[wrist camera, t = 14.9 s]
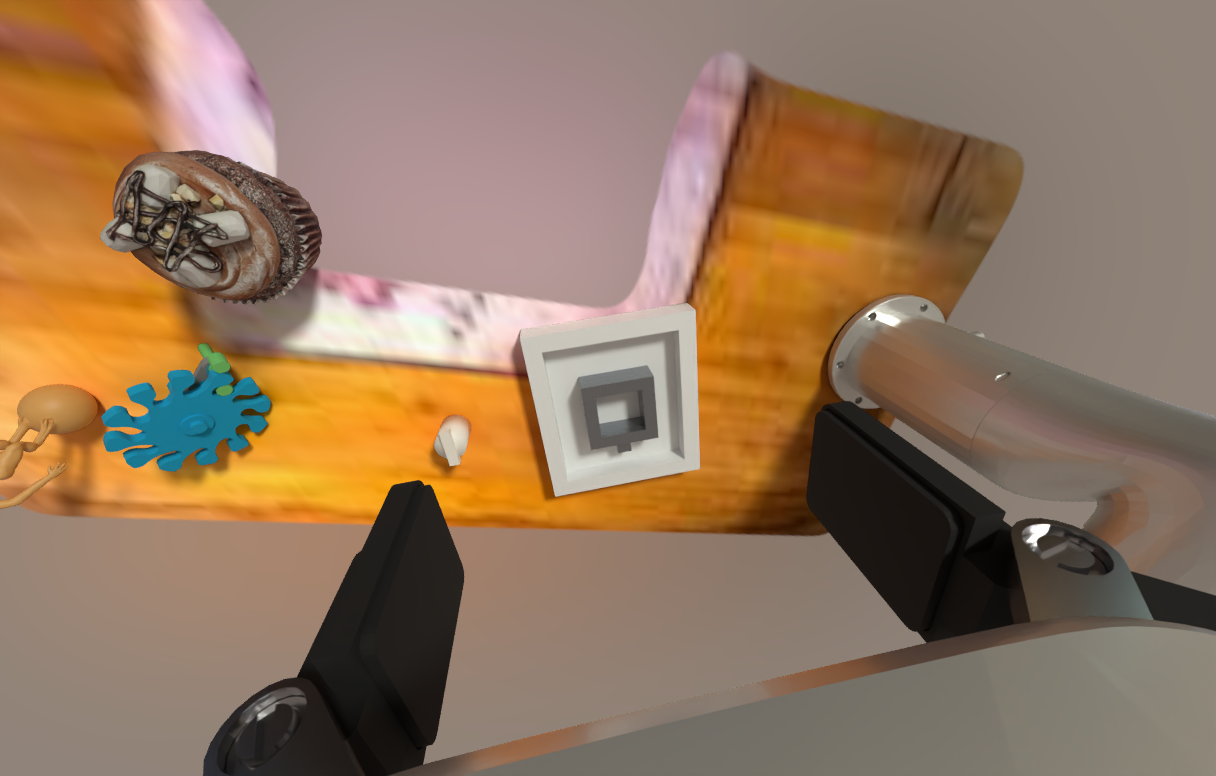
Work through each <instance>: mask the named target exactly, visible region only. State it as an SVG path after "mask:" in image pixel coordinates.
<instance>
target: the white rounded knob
mask: <svg viewBox="0 0 1216 776" xmlns="http://www.w3.org/2000/svg"><path fill="white" fill-rule="evenodd" d="M470 431H471V424H470V422H469V421H468V420H467V419H466V418H465V417H463V416H461V415H450V416H448V417H446V418H445V419H444V420H443V422H442V424H441V427H440V430H439V432H438V435H437V437H436V440H435V443H434V448H435V450H436V452H437V453H438V454H439V455H440V456H442V457H444V458H447V459H448V462H449V465H450V466H454V465H459V464H460V462H461V459H460V456H462V455H463V454H464V453H465V451H466V447H467V443H468V439H469V435H470Z"/></svg>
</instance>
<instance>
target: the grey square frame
mask: <svg viewBox="0 0 1216 776" xmlns="http://www.w3.org/2000/svg"><path fill="white" fill-rule="evenodd" d="M578 378H579V384H580V390H581V396H582V402H583V408H584V414H585V420H586V426H587V432H588V438H589V443H590V448H591V450H595V449H600V448H605V447H611V446H617V451H618V453H622V452H627V451H632V449H631V443H632V442H638V441H643V440H649V439H654V438H659V437H658V424H657V411H656V398H655V386H654V376H653V374H652V372H651V371H650V369H649V367H648V366H647V365H645V366H640V367H634V368H628V369H622V370H616V371H611V372H605V373H599V374H593V375H587V376H581V377H578ZM633 391H638V400H639V410H640V417H635V418H629V419H624V420H618V421H612V422H607V423H601V424H599V418H598V411H597V404H596V398H599V397H605V396H610V395H616V394H622V393H627V392H633Z"/></svg>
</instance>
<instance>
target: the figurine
mask: <svg viewBox="0 0 1216 776" xmlns="http://www.w3.org/2000/svg"><path fill="white" fill-rule="evenodd" d="M97 411H98V405H97V402H96V400H95V399H94V397H93V396H92V395H91V394H90V393H88V392H87V391H85V390H83V389H81V388H78V387H75V386H71V385H63V384H55V385H47V386H43V387H39V388H37V389H34V390H32V391H31V392H29V393H27V394H26V395H25V396H24V397H23V398H22V399H21V401H20V402H19V404H18V408H17V412H18V416H19V419H18V425H19V426H18V429H17V430H16V432H15V433H14V435H13V436H12V438H11V439H10V440H9V441H6V440H0V450H4V449H5V450H4V451H3V452H1V453H0V480H5V479H8V478H10V477H11V476H12V475H13V474H14V472H15V469H16V467H17V466H18V464H19V462H20V460H21V459H22V456H23V450H24V451H26V452H33V451H35V450H36V449H37V448H38V447H40V446H41V445H42V444H43V442H44V441H45V439H46V438H47V436H48V435H49V434H66V433H71V432H75V431H77V430H80V429H82V428H84V427H86V426H87V425H89V424H90V423H91V422H92V421H93V420H94V418H95V417H96V415H97ZM29 429H33V430H35V431H38V432H39V433H38V435H37V437H36V438H35V440H34V442H33V443H32V442H19V441H20V440H21V438H22V437H23V436H24V435H25V433H26V432H27V431H28V430H29ZM59 464H60V461H59V462H58V464H57V465H56V466H55V468H54V469H51V466H49V467H48V473H49V474H48V475H47V476H46V477H44V478H42V479H40V480H38V481H37V482H35V483H34V484H32V485H31V486H30V487H28V488H27V489H26V490H25V491H23V492H21V493H20V494H18V495H17V496H15V497H14V498H12V499H6V500H0V509H3V508H8V507H12V506H16V505H19V504H20V503H22V502H24V501H25V500H26V499H27V498H28V497H29V496H31V495H32V494H33V493H35V492H36V491H37V490H39V489H40V488H41V487H43V486H44V485H45V484H46V483H47V482H49V481H50V480H51V479H53V478H55V477H56V476H58V475H59V474H61V473H62V472H63V471H64V470H65V469H66V468H67V467H68V465H67V466H66V467H65V468H63V466H64V465H65V463H63V465H62V466H61V467H58V466H59ZM62 468H63V469H62Z"/></svg>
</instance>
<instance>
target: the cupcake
mask: <svg viewBox="0 0 1216 776" xmlns="http://www.w3.org/2000/svg"><path fill="white" fill-rule="evenodd" d="M113 212H114V219H113V220H112V221H110V222H109V223H108V224H107V225H106V226H105V228H104V229H103V231H102V232H101V233H100V237H101V240H102V241H103V242H104V243H105V244H106V245H107V246H108V247H110V248H112V249H114V250H116V251H120V252H129V251H131V252H132V254H133V255H134V256H135V257H136V258H137V259H138V260H140V261H141V262H142V263H144V264H145V265H146V266H148V267H149V268H150V269H151V270H153V271H154V272H156V273H157V274H159V275H160V276H162V277H163V278H165V279H167V280H169V281H171V282H173V283H174V284H176V285H178V286H180V287H183V288H186V289H189V290H191V291H194V292H196V293H198V294H202V295H206V296H210V297H212V300H216V299H217V298H218V299H223V301H224V303H225V302H227V301H229V300H233V303H234V304H236V303H237V302H239V301H242V303H243V304H247V303H248V302H250V301H251V302H252V304H256V303H257V302H259V301H260V300H262V301H263V302H264V303H268V302H269V300H270V299H271V298H273V299H274V300H276V299H278V298H279V297H280V296H281V295H283V296H284V295H285V294H286V293H287V292H288V290H289V289H290V290H292V288H293V287H294V286H295V284H296V283H297V282H298V281H299V280H300V279H301V277H302V276H303V275H304V274H305V273H306V272H307V271H308V270H309V269H310V268H311V267H312V266H313V264H314V263H315V262H316V260H317V258H318V256H319V254H320V247H319V246H320V245H321V238H322V233H321V229H320V227H319V223H318V219H317V216H316V215H315V214H314V213H313V211H312V210H311V207H310V205H309V203H308V202H307V201H306V200H305V199H303V198H302V197H301V195H300V193H299V191H298V190H296V189H295V188H292V187H289V186H287V185H286V184H285V183H284V182H283V181H281V180H279V179H277V178H275V177H272V176H270V175H268V174H265V173H262V172H259V171H256V170H254V169H252V168H251V167H249V166H247V165H245V164H243V163H241V162H235V161H234V160H232V159H230V158H229V157H224V156H222V155H217V154H212V153H209V152H206V151H198V150H195V151H180V152H152V153H147V154H143V155H139V156H138V157H136V158H135V159H134V160H133V161H132V162H131V163H129V164H128V165H127V166H126V167H125V168H124V170H123V171H122V173H121V175H120V177H119V179H118V181H117V183H116V187H115V193H114V199H113Z"/></svg>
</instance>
